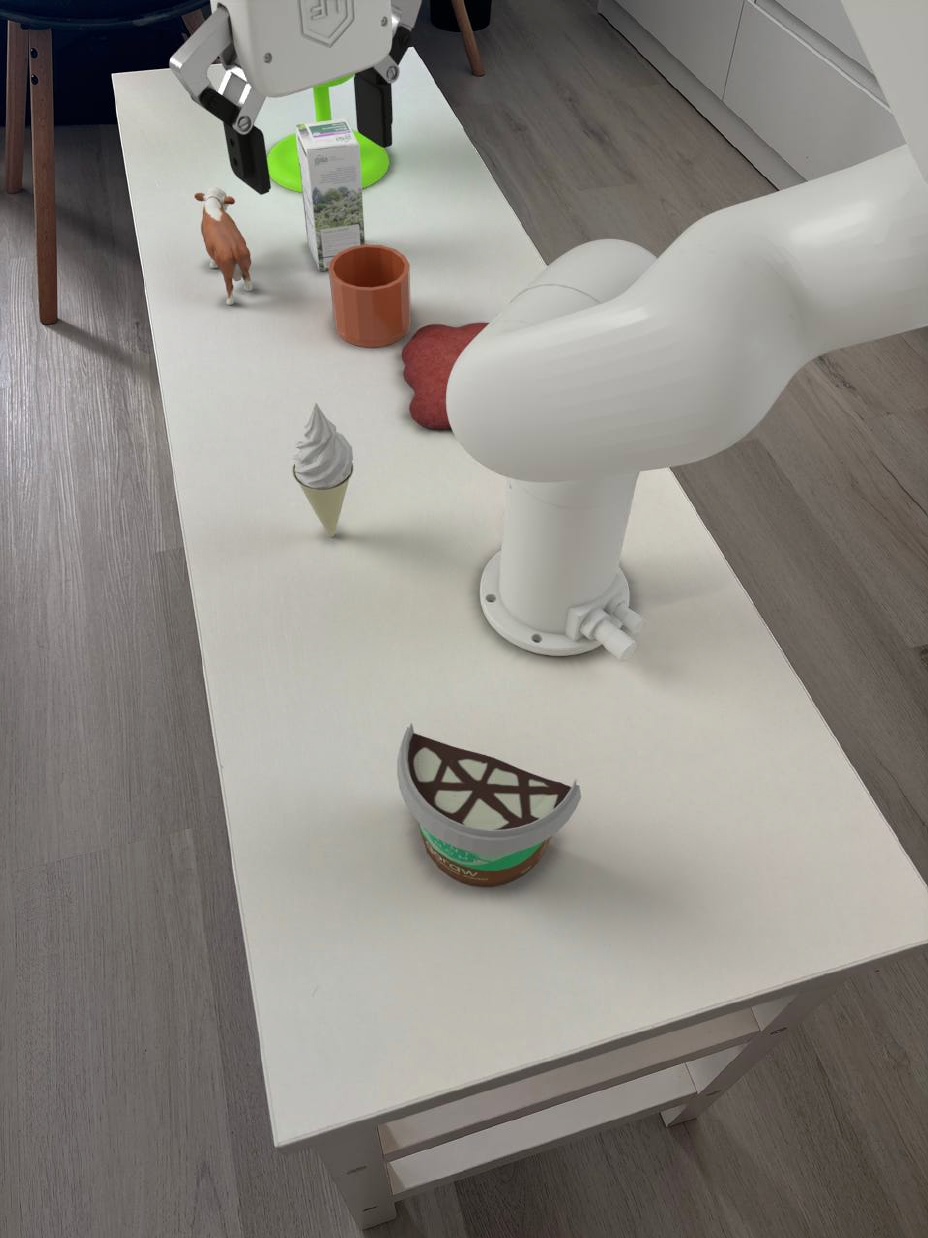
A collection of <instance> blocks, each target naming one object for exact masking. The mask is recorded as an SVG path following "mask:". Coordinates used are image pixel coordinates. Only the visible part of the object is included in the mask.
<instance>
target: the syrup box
mask: <svg viewBox="0 0 928 1238" xmlns="http://www.w3.org/2000/svg"><path fill="white" fill-rule="evenodd" d="M294 129H295V130H294V131H295V134H296V141H297V150H298V159H299V167H300V176H301V186H302V193H301V194H302V203H303V212H304V220H305V230H306V240H307V245H308V247H309V250H310V252H311V255H312V257H313V260H314V261H315V264H316V266H317V269H318V271H320V272H324V271H329V265H330V261H331V260H332V259H333V258H334V257H335V256H336V255H337V254H338V253H339V252H341V251H343V250H345V249H348V248H350V247H354V246H359V245H365V244H366V235H365V234H366V233H365V222H364V221H365V218H364V204H363V203H364V202H363V201H364V200H363V188H362V181H361V162H360V146H359V143H358V141H357V140H356V138H355V136H354V133H353V131H354V130H353V131H352V127H351V124H350V123H349V122H348V120H347V119H346V118H344V117H343V118H336V119H331V120H329V121H321V122H316V121H314V122H307V123H300V124H295V126H294Z"/></svg>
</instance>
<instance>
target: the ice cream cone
mask: <svg viewBox="0 0 928 1238" xmlns="http://www.w3.org/2000/svg"><path fill="white" fill-rule="evenodd" d="M304 429H305V430H306V431H305V432H304V433H303V434H302V435H303V436H304V440H303V441H297V442H296V443H295V444H294V449H299V452H298V453H297V454H295V455H292V460H293V461H294V462H293V464H292V470H291V472H292V473H291V474H292V477H293V479H294V481H296V483H297V484H298V485H299V486H300V488H301V490H302V492H303V494H304V495H305V497H306V499H307V501H308V502H309V504H310V506H311V508H312V510H313V511H314V513H315V514H316V517H317V518H318V520H319V521H320V523H321V525H322V527H323V529H324V530H325V532H326V534H327V535H328V537H329V538H334V537H335V533H336V530H337V526H338V523H339V519H340V516H341V513H342V508H343V504H344V501H345V497H346V493H347V489H348V486H349V482H350V479H351V477H352V476H353V473H354V463H353V461H354V453H353V452H354V451H353V446H352V445H351V444H350V442H349V441H348V439H347V438H346V437H345V436H344V434H342V433H341V432H338V431H337V425H335V424H334V423H332V422H331V421H330V420H329V419H328V418H327V416H326V415H325V414H324V412H323V411H322V410H321V408H320V407H319V404H318V402H315V404H314V407H313V411H312V412H311V415H310V417H309V420H308V421H307V423H306V424H305V425H304Z"/></svg>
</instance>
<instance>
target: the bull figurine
mask: <svg viewBox="0 0 928 1238" xmlns="http://www.w3.org/2000/svg"><path fill="white" fill-rule="evenodd" d="M194 199H195V200H196V201H198V202H204V205H203V208H202V219H201V224H200V230H201V231H200V232H201V235H202V239H203V242H204V246H205V251H206V253H207V255H208V256H209V259H210V263H209V268H210V269H219V271H220V272H221V274H222V277H223V281H224V284H225V289H226V292H227V299H226V301H225V304H226V305H227V306H232V305H234V304H235V297H234V294H233V293H234V283H233V281H234V282H239V281H241V279H242V281H243V283H244V284H243V290H244V291H246V292H253V281H252V277H251V275H250V273H249V270H250V267H251V265H252V258H251V251H250V249H249V248H248V246H247V241H246V239H245V238H244V236H243V235H242V232H241V231H240V229H239V228H238V227H237V224H236V222H235V221H234V219H233V218H232V217H231V215H230V214H229V213H228V212H227V210H228V207H229V206H230V205H231V206H232V205H234V204H236V200H235V198H233V196H230V195H229V196H227V193H226V191H225V190H223V189H222V188H219V187H216V186H215V187H214V186H212V187H209V189H207V193H204V192H196V193H195V194H194Z"/></svg>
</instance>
